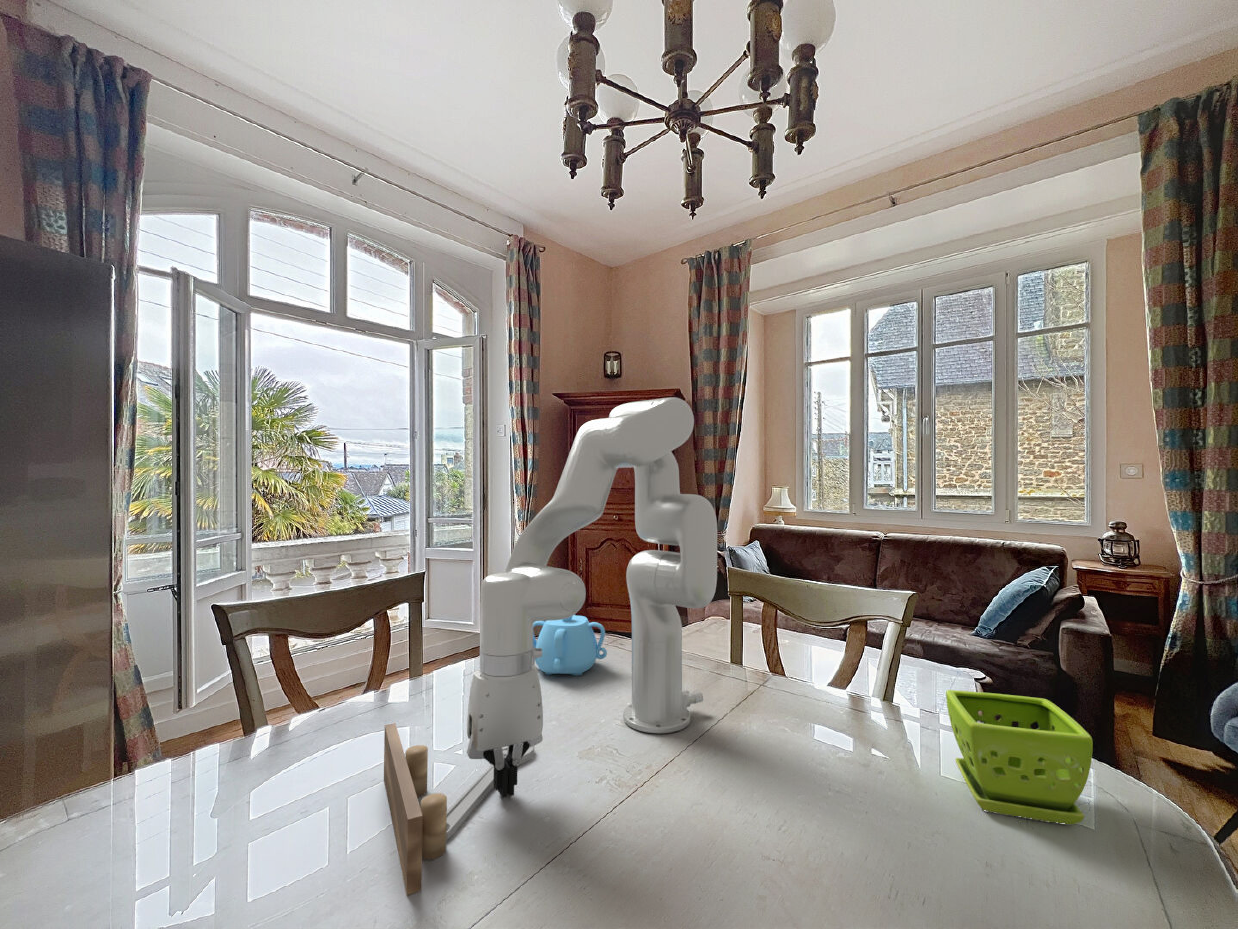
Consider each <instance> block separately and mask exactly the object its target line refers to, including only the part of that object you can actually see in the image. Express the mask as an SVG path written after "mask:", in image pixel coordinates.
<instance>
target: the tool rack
mask: <svg viewBox="0 0 1238 929" xmlns="http://www.w3.org/2000/svg"><path fill="white" fill-rule="evenodd" d="M397 727H398V726H397V723H396V722H393V723H390V724H389V723H388V724H384V736H383V737H384V746H383V753H384V754H383V782H384V787H385V792H386V797H387V802H388V807H389V813H390V818H391V821H392V827H393V828H392V829H393V833H394V837H395V843H396V848H397V853H398V858H399V862H400V864H399V865H400V869H401V873H402V878H403V883H404V889H405V894H406V896H409V895H412V894H415V893H419V892H421V891H422V880H423V879H422V875H423V874H422V872H423V870H422V868H423V867H422V866H423V865H422V864H423V863H422V862H423V859H424V860H435V859H438V858H440V857H442V856H443V855H444V854H445V853H446V851H447V840H446V825H447V810H448V806H447V805H448V798H447V794H444V793H440V792H435V793H430V794H428V795H426V794H427V792H428V763H429V762H428V755H429V754H428V752H429V751H428V750H429V749H428V748H429V747H428V746H427V745H423V744H418V745H413V746H412V745H411V747H409V748H407V749H406V750H405V751H404V749H403V748H404V747H403V744H402V740H401V738H400V737H401V736H400V734H399V731H398V728H397ZM425 795H426V796H425ZM421 797H423V798H422V799H421V801H420V802H419V799H420V798H421Z"/></svg>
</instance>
